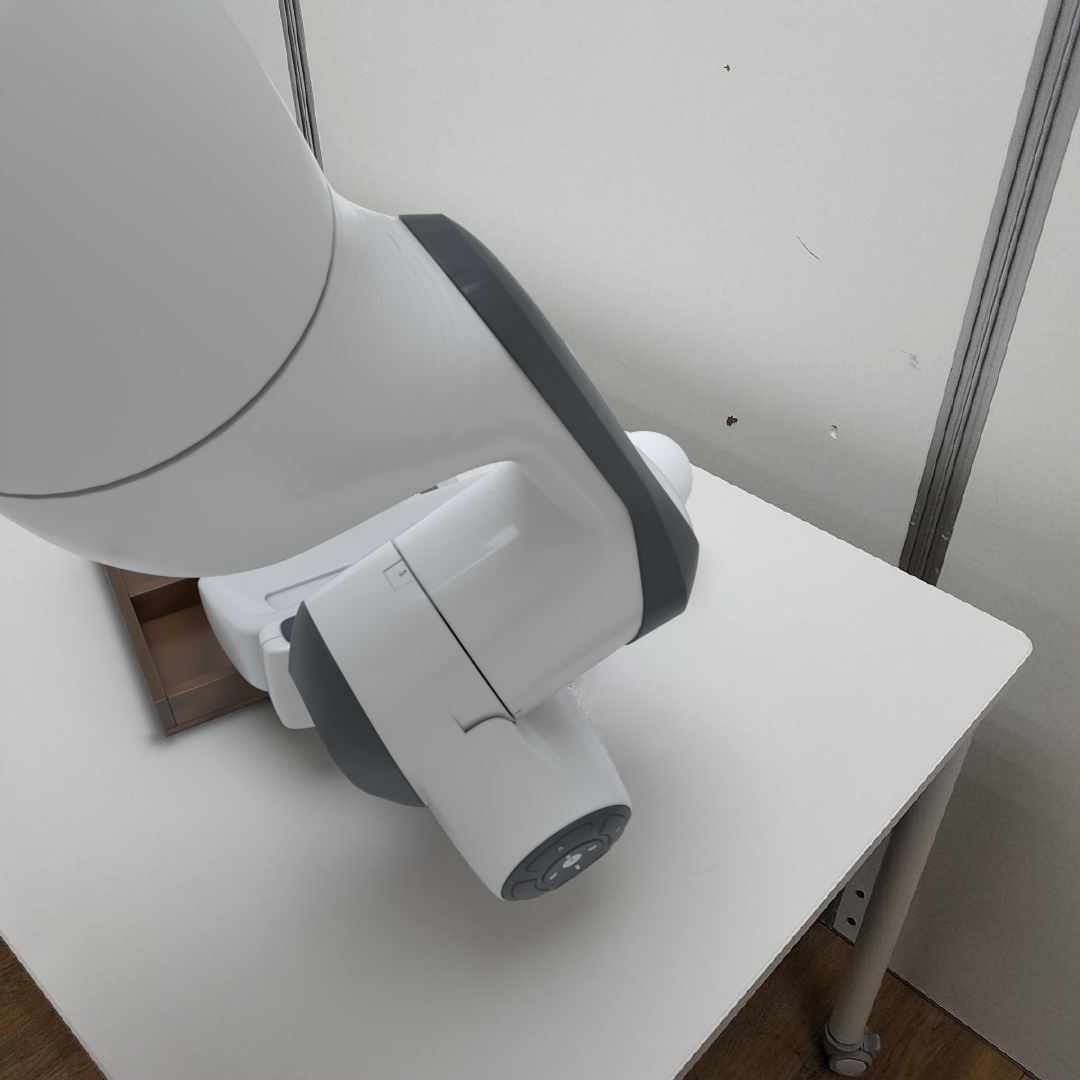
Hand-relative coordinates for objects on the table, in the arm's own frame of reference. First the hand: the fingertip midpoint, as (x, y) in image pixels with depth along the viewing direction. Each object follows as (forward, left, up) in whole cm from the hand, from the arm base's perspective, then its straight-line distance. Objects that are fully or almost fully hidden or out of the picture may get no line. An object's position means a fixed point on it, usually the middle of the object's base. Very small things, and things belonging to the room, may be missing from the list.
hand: (336, 489), depth 69 cm
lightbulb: (+17, -8, -8) cm, 21 cm away
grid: (-5, +3, -8) cm, 10 cm away
